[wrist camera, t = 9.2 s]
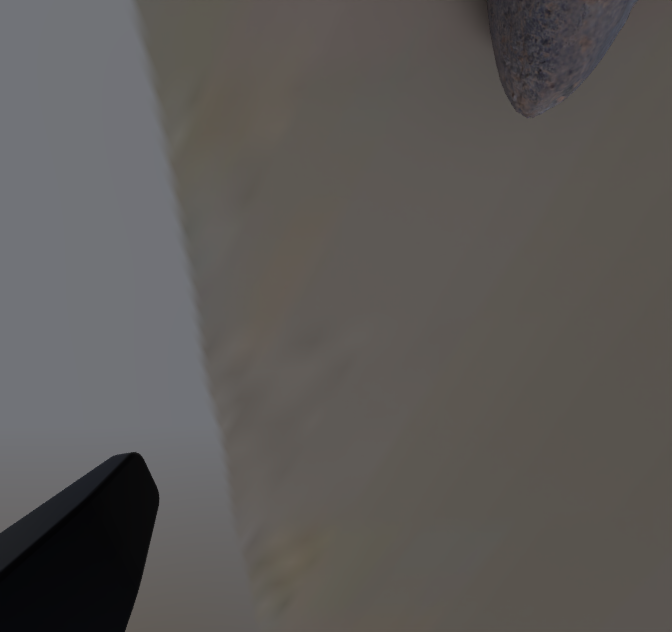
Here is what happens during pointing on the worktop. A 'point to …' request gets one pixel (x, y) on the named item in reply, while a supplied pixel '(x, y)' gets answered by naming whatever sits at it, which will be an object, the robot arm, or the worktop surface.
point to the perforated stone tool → (550, 46)
